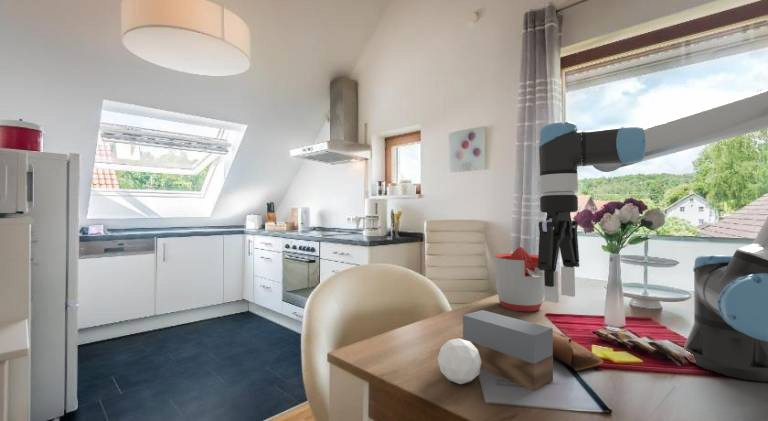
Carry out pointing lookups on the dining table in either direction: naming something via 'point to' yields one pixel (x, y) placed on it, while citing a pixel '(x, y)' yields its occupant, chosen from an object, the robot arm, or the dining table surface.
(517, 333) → the tower top block
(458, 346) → the geometric ball
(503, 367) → the tower base block
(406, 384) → the dining table surface
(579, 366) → the sunglasses case
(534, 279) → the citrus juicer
